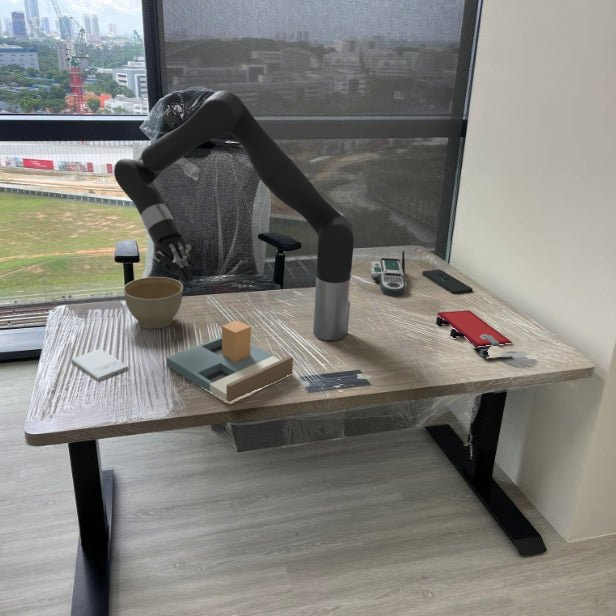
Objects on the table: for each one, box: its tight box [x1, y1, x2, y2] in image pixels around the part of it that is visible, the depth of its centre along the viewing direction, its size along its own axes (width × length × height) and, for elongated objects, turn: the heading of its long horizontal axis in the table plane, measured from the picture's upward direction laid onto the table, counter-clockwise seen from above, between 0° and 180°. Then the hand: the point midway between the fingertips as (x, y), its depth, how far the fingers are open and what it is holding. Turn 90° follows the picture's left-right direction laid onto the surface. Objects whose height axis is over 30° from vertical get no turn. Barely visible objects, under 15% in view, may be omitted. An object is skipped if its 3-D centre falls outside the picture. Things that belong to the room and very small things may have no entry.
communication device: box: [370, 250, 408, 297], centre depth 206 cm, size 12×24×9 cm, turn 178°
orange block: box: [221, 320, 252, 362], centre depth 149 cm, size 5×5×8 cm
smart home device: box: [421, 268, 474, 295], centre depth 211 cm, size 8×2×20 cm
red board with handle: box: [435, 310, 512, 359], centre depth 173 cm, size 30×3×15 cm
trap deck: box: [166, 335, 294, 402], centre depth 147 cm, size 20×24×5 cm
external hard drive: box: [70, 348, 129, 382], centre depth 147 cm, size 2×8×12 cm
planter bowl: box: [123, 276, 184, 330], centre depth 169 cm, size 16×16×11 cm
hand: (189, 281), depth 156 cm, fingers closed
